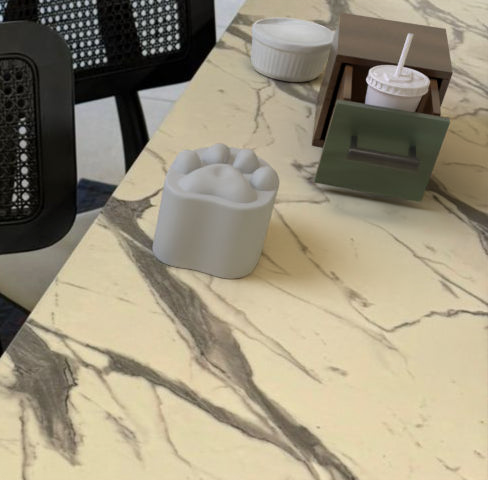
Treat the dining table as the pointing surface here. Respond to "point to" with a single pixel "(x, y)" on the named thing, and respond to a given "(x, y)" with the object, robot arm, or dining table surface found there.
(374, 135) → the drawer
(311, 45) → the ramekin
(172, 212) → the lumpy-topped squat cylinder
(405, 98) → the smoothie
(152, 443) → the dining table surface
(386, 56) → the cabinet
